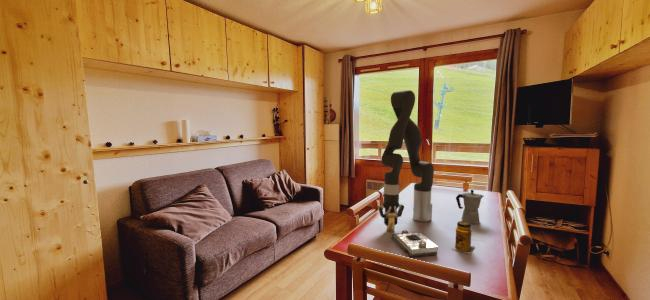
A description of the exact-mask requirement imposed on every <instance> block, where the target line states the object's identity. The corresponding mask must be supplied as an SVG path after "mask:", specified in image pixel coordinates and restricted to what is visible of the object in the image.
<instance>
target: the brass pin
mask: <svg viewBox="0 0 650 300" xmlns="http://www.w3.org/2000/svg"><path fill="white" fill-rule="evenodd" d="M395 216H396V213H395V212H390V213H389V214H388V226H386V232H388V233H395V228H396V227H395V226H396V225H395Z"/></svg>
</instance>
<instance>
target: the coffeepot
mask: <svg viewBox="0 0 650 300" xmlns="http://www.w3.org/2000/svg"><path fill="white" fill-rule="evenodd" d="M474 192H475V191H474V189H470V192H465V193H459V194H457V195H456V197H455V200H456V203H457V207H458V209H460V210H461V209H462V210H463V212H462V215H461V221H465V222H468V223H470V224H471V225H479V224H480V223H481V222H480V214H479V208H480V206H481V205H480V204H481V202H482V199H483V197H484V195H483V194H481V193H480V194H479V193H474ZM460 198H463V199H462V200H463V206H462V204H461V201H460V200H461V199H460Z"/></svg>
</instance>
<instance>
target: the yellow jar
mask: <svg viewBox="0 0 650 300" xmlns="http://www.w3.org/2000/svg"><path fill="white" fill-rule="evenodd" d="M456 225H457V226H456V228H455V244H454V246H453V247H452V250H454V251H457V252H459V253H465V254H469V255H471V254H472V253H473V251H474V249H475V246H473V245H472V229H471V225H472V224H470V223H468V222H465V221H462V220H461V221H457V223H456Z"/></svg>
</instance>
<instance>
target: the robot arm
mask: <svg viewBox="0 0 650 300" xmlns="http://www.w3.org/2000/svg"><path fill="white" fill-rule="evenodd" d="M415 103H416V94H415V93H414V91H413V90H411V89H405V90H400V91H399V90H398V91H394V92H392V93H391V95H390V104H391V106H392V110H393V112H394V114H395V117H396V119H397V120H396V121H395V123H394V124H393V126H392V127H391V130H390V132H389V138H388V142H387V145H386V147H385V149H384V151H383V153H382V155H381V160H380V161H381V164H382V165H383V166H384V167H388V168H392V169H391V170H389V171H386V172H384V181H383V182H384V184H383V203H382V205H378V206H377V208H378V212H379V213H378V214H379V215H380V217H381V218H382V219H383V224H384V225H385V226H386V227H387V226H388V214H389V213H390V212H395V213H396V216H395V226H396V225H397V224H398V218H400V217H401V218H402V215H403V211H404V210H405V205H403V204H401V203H400V202H399V201H400V183H399V182H400V175H401V170H402V168H403V167H402V166H403V163H404V159H403V156H402V154H400V153H394V152H395V151H397V150H401V148H402V147H403V145H404V144H405V148H406V151H407V156H408V160H409V167H410V171H411V173H412V175H413V176H414V177H417V178H421V181H420V182H417V183H415V184H414V185H413V205H412V206H413V208H412V209H413V214H412V219H413V220H414V221H417V222H421V223H423V222H425V223H428V222H429V221H432V219H433V218H432V217H433V203H431V202H432V187H433V184H434V174H435V173H434V172H435V168H434V165H433V163H432V162H430V161H429V162H427V161H424V160H423V161H422V160H421V157H420V148H421V146H422V144H423V137H422V133H421V130H420V127H419V126H418V125H417V124H416V122H414V121H413V120H412V118H410V117H411V115H412V113H413V109H414V107H415ZM403 143H404V144H403ZM383 210H384V211H383Z"/></svg>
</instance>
